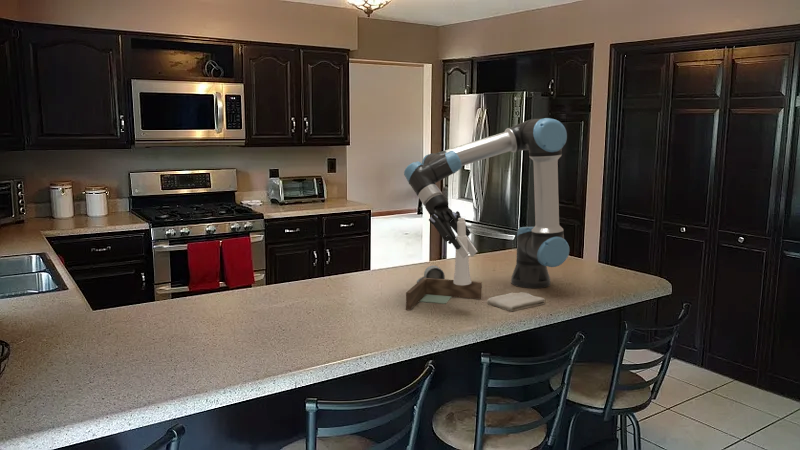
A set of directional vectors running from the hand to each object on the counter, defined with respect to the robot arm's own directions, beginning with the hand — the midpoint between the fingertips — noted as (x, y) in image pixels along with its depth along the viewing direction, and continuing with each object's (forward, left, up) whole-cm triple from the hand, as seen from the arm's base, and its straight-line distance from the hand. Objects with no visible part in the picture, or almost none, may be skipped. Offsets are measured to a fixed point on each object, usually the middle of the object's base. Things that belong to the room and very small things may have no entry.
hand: (470, 254), depth 200 cm
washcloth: (-14, -17, -21) cm, 30 cm away
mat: (+15, -14, -20) cm, 28 cm away
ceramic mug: (+22, -34, -20) cm, 45 cm away
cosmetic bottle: (+3, -2, -11) cm, 11 cm away
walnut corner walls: (+10, -9, -20) cm, 24 cm away
